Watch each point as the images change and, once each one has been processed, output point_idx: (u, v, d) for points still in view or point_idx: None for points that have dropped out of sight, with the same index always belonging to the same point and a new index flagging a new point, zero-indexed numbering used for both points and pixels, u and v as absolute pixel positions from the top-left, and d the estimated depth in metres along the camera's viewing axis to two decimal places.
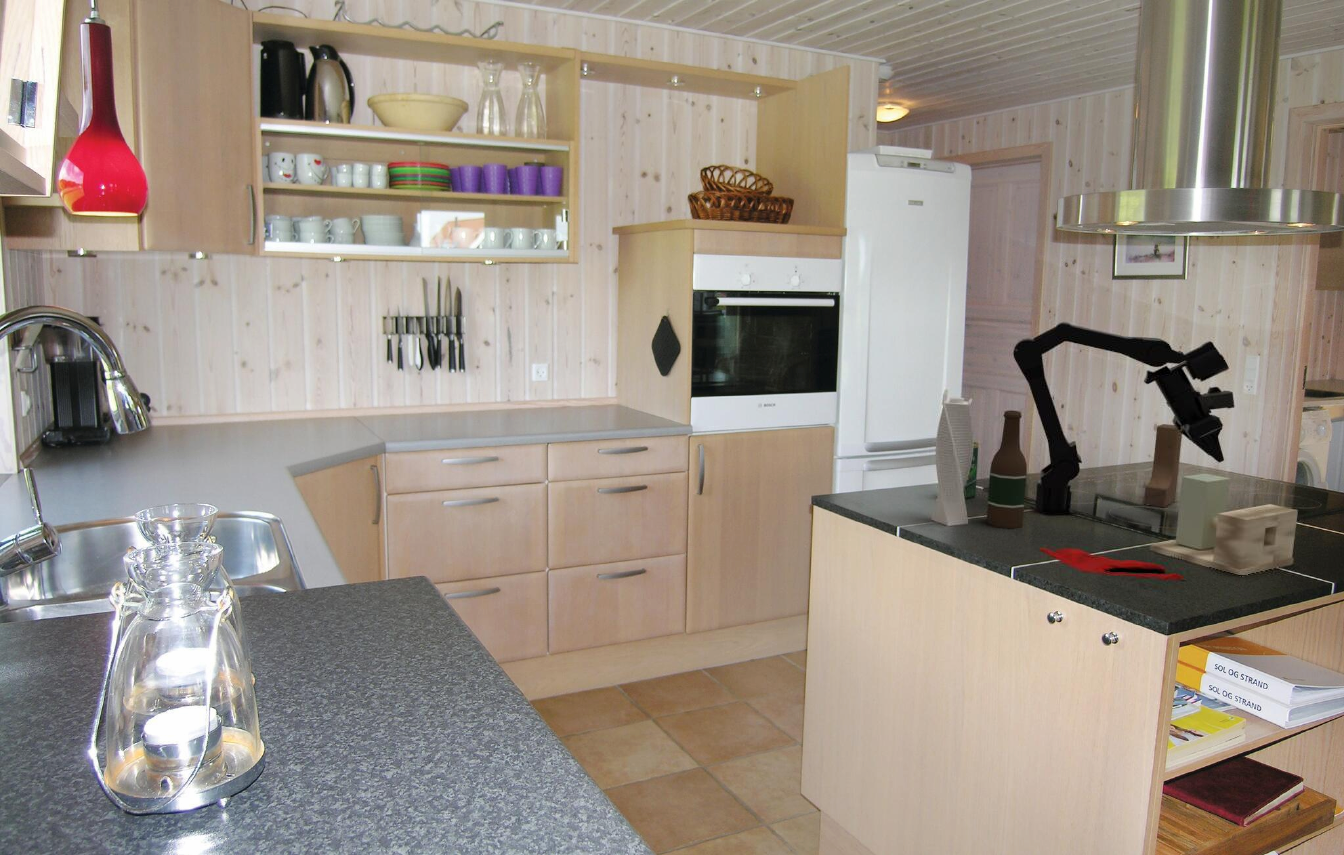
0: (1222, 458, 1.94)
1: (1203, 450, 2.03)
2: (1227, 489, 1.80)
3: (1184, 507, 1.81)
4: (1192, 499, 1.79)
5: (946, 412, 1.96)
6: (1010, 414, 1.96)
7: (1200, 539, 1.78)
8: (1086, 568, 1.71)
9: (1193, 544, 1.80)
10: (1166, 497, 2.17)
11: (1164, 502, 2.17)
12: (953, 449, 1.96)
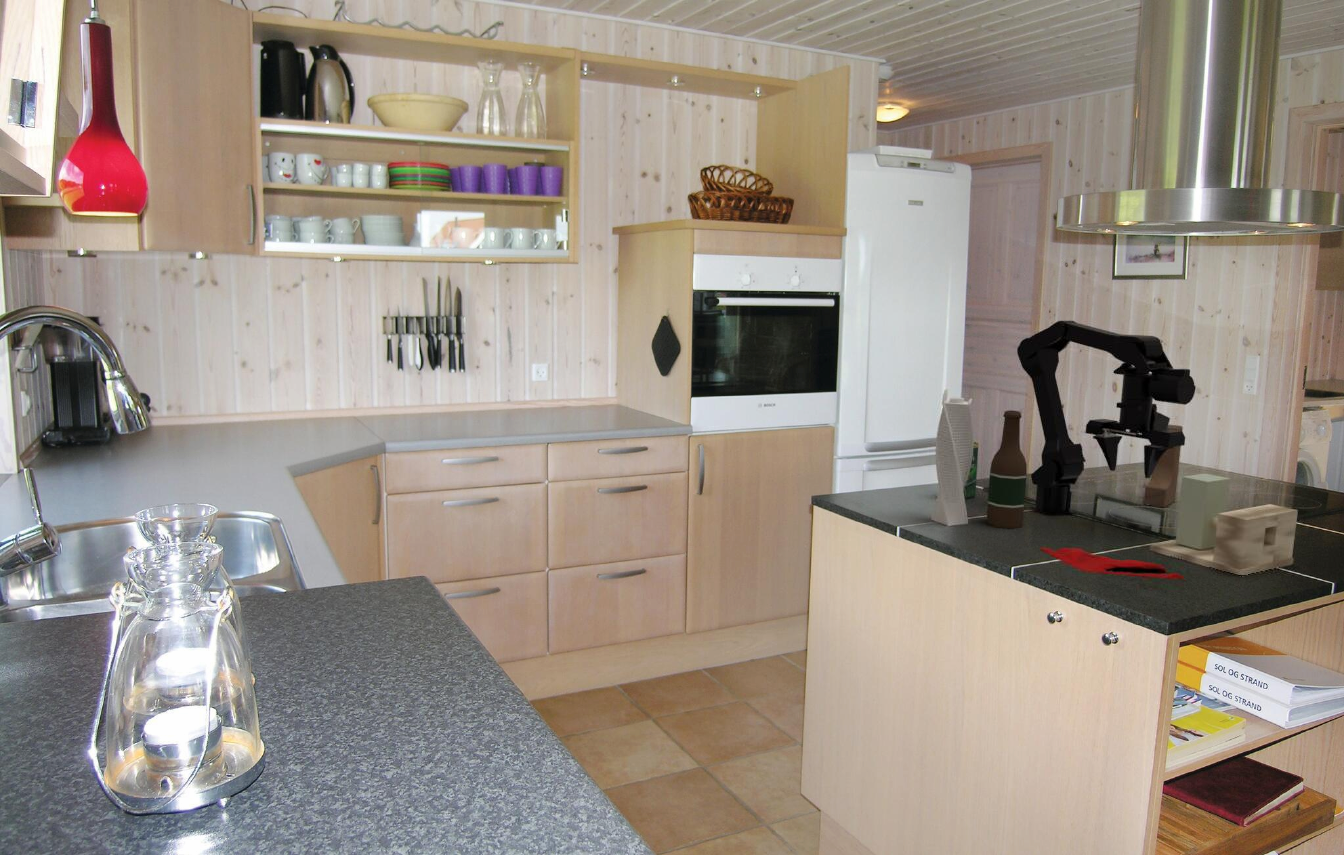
0: (1150, 475, 1.91)
1: (1110, 463, 1.97)
2: (1227, 489, 1.80)
3: (1184, 507, 1.81)
4: (1192, 499, 1.79)
5: (946, 412, 1.96)
6: (1010, 414, 1.96)
7: (1200, 539, 1.78)
8: (1087, 567, 1.71)
9: (1193, 544, 1.80)
10: (1166, 497, 2.17)
11: (1164, 502, 2.17)
12: (953, 449, 1.96)
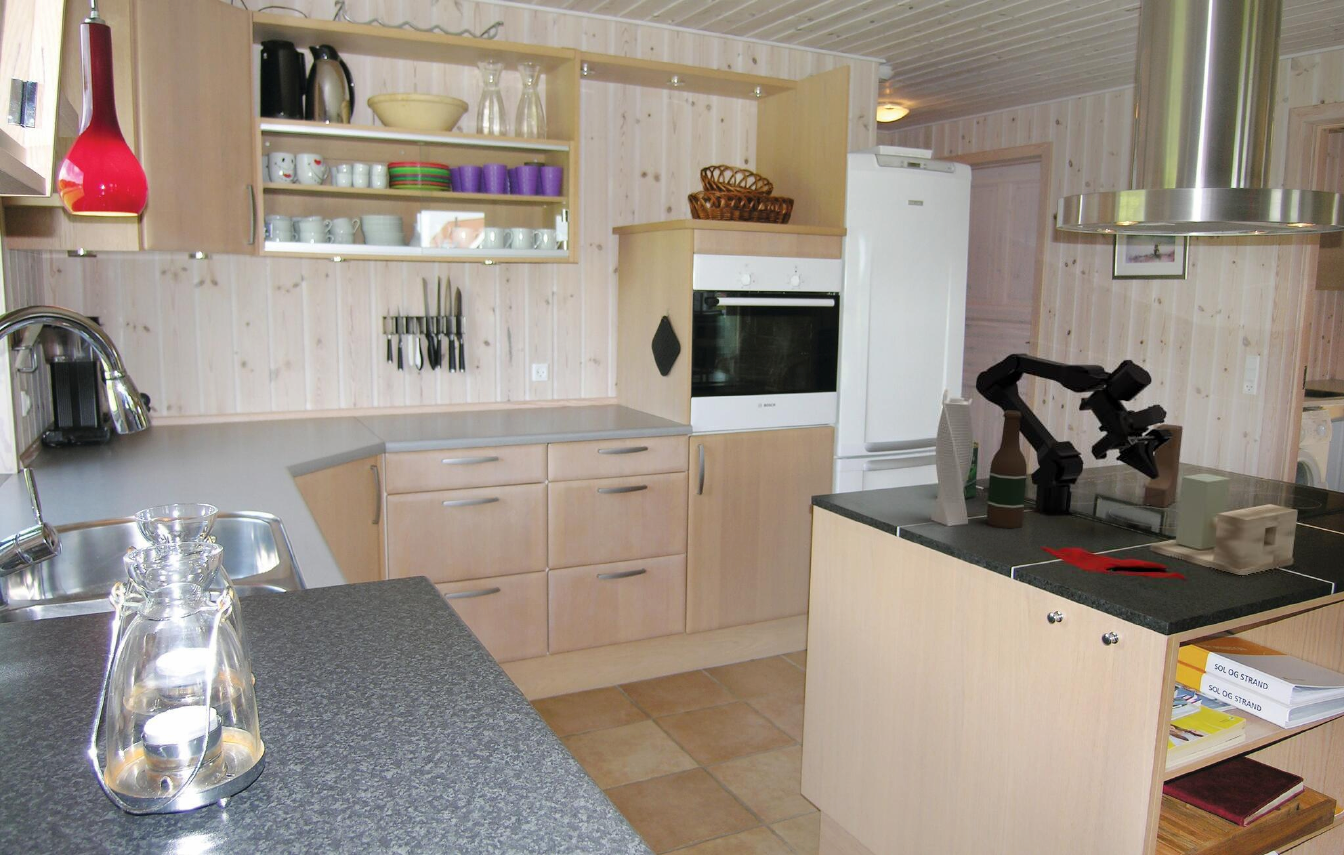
0: (1154, 474, 1.89)
1: None
2: (1227, 489, 1.80)
3: (1184, 507, 1.81)
4: (1192, 499, 1.79)
5: (946, 412, 1.96)
6: (1010, 414, 1.96)
7: (1200, 539, 1.78)
8: (1088, 567, 1.71)
9: (1193, 544, 1.80)
10: (1166, 497, 2.17)
11: (1164, 502, 2.17)
12: (953, 449, 1.96)
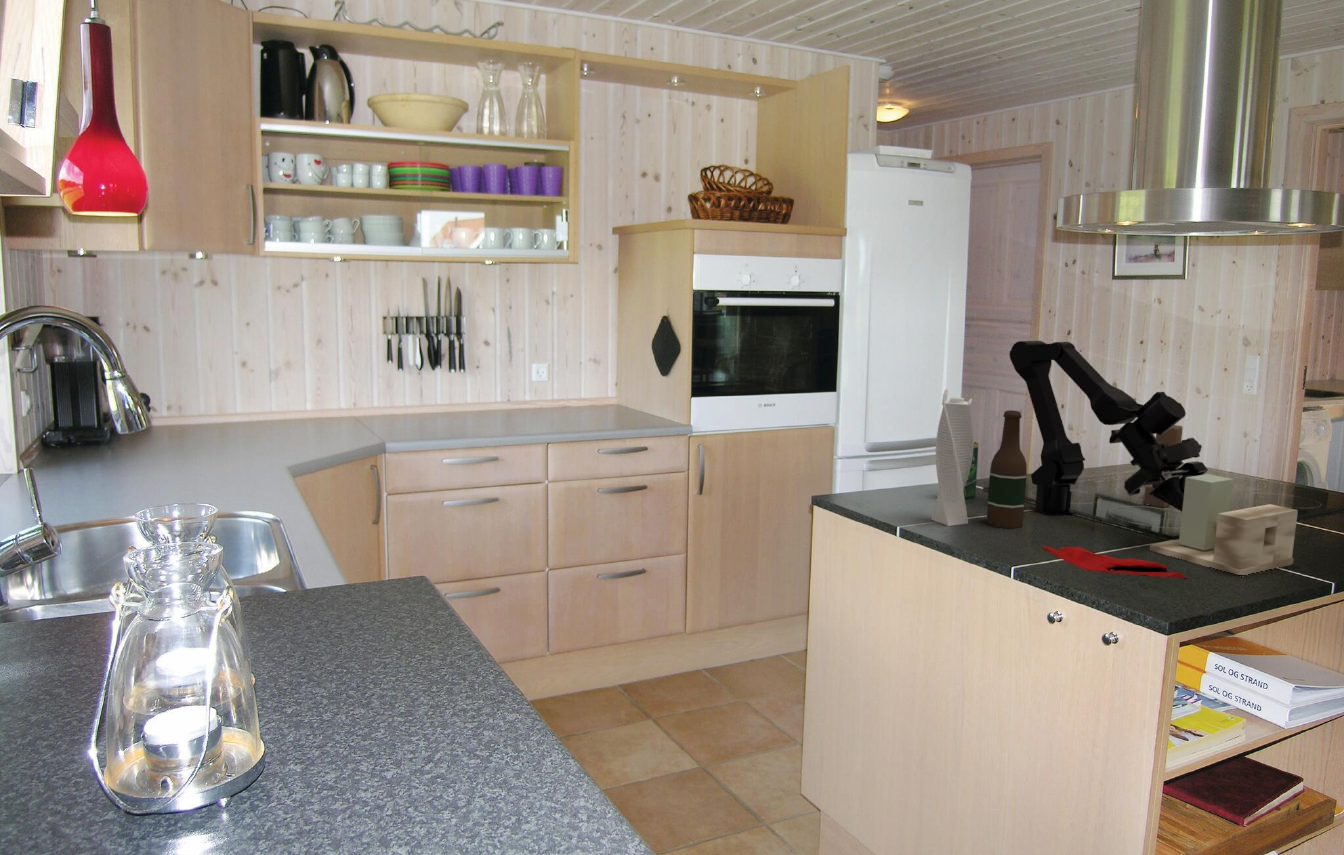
0: None
1: None
2: (1231, 490, 1.79)
3: (1187, 508, 1.80)
4: (1196, 500, 1.79)
5: (946, 412, 1.96)
6: (1010, 414, 1.96)
7: (1203, 540, 1.78)
8: (1088, 566, 1.72)
9: (1196, 545, 1.79)
10: None
11: (1164, 502, 2.17)
12: (953, 449, 1.96)
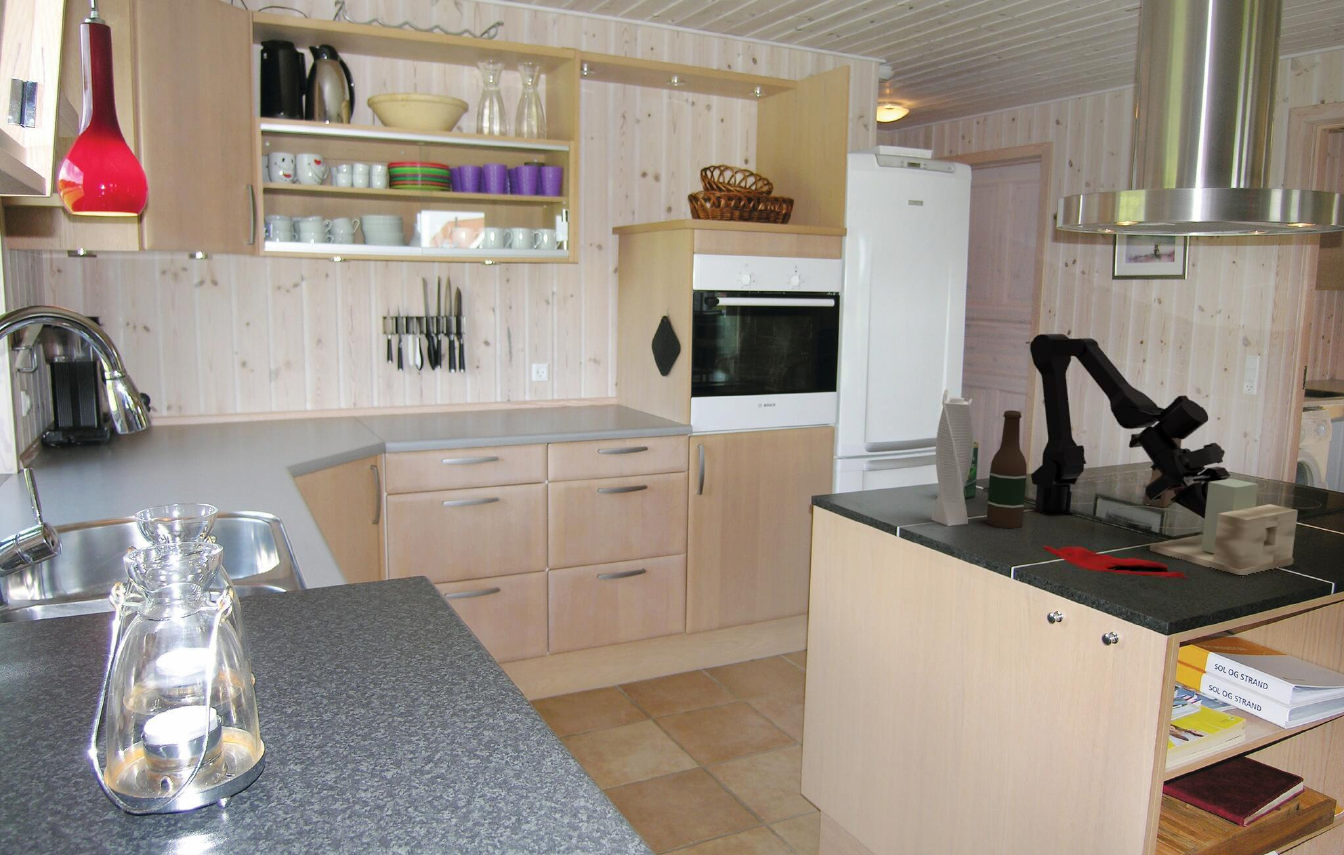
0: None
1: None
2: (1255, 495, 1.75)
3: (1210, 513, 1.76)
4: (1219, 505, 1.75)
5: (946, 412, 1.96)
6: (1010, 414, 1.96)
7: None
8: (1089, 566, 1.72)
9: None
10: (1166, 497, 2.17)
11: (1164, 502, 2.17)
12: (953, 449, 1.96)
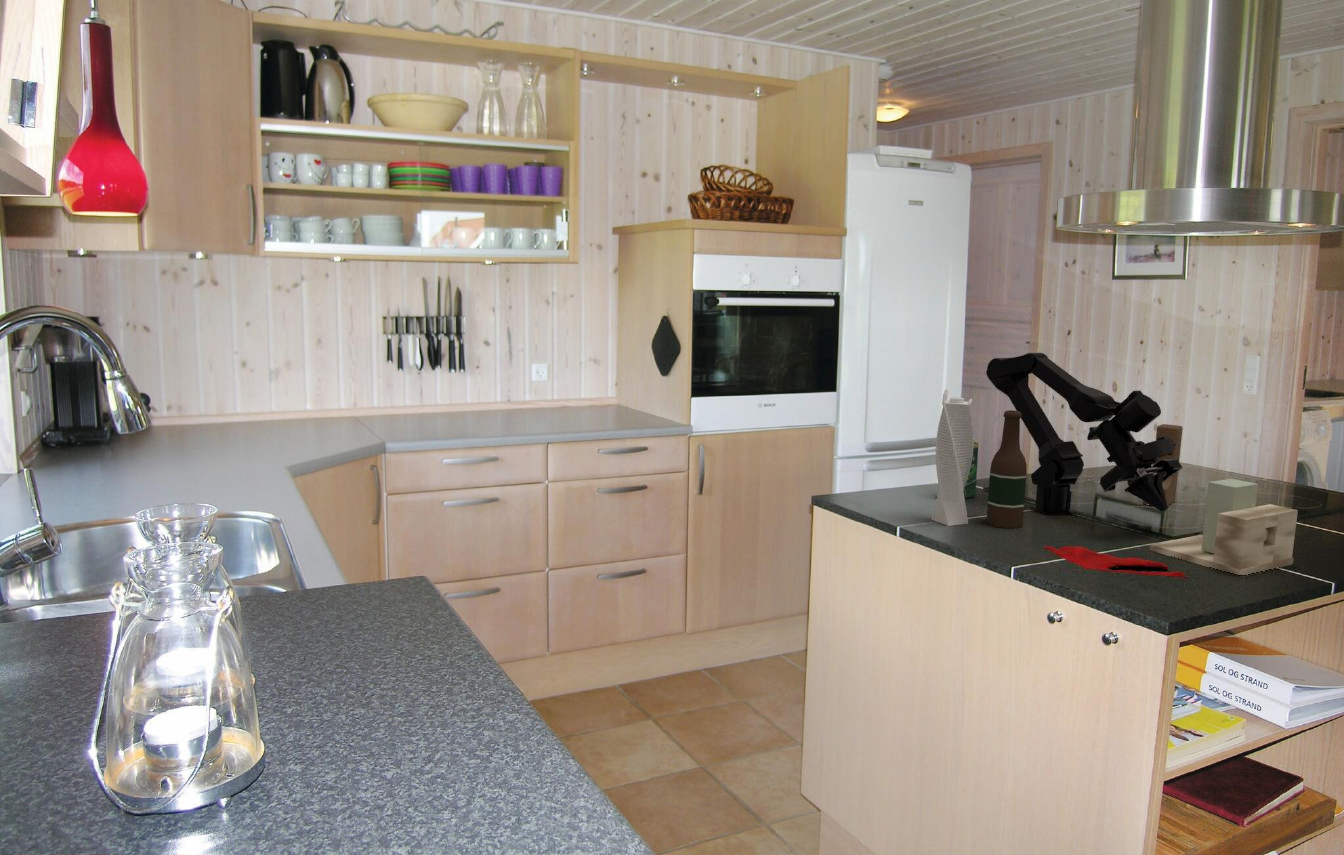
0: (1163, 507, 1.88)
1: None
2: (1255, 495, 1.75)
3: (1210, 513, 1.76)
4: (1219, 505, 1.75)
5: (946, 412, 1.96)
6: (1010, 414, 1.96)
7: None
8: (1089, 566, 1.72)
9: None
10: (1166, 497, 2.17)
11: None
12: (953, 449, 1.96)
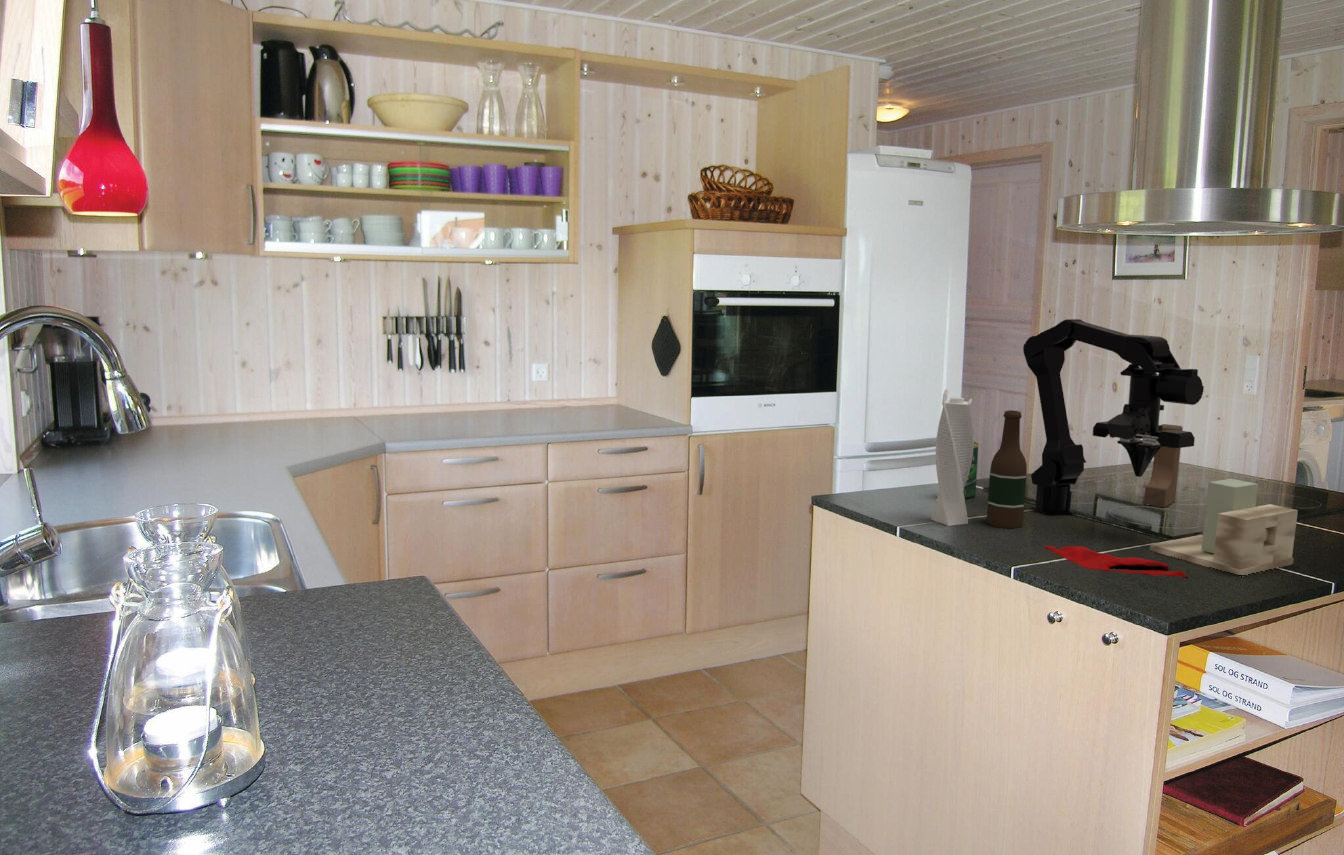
0: None
1: None
2: (1255, 495, 1.75)
3: (1210, 513, 1.76)
4: (1219, 505, 1.75)
5: (946, 412, 1.96)
6: (1010, 414, 1.96)
7: None
8: (1090, 565, 1.72)
9: None
10: (1166, 497, 2.17)
11: (1164, 502, 2.17)
12: (953, 449, 1.96)
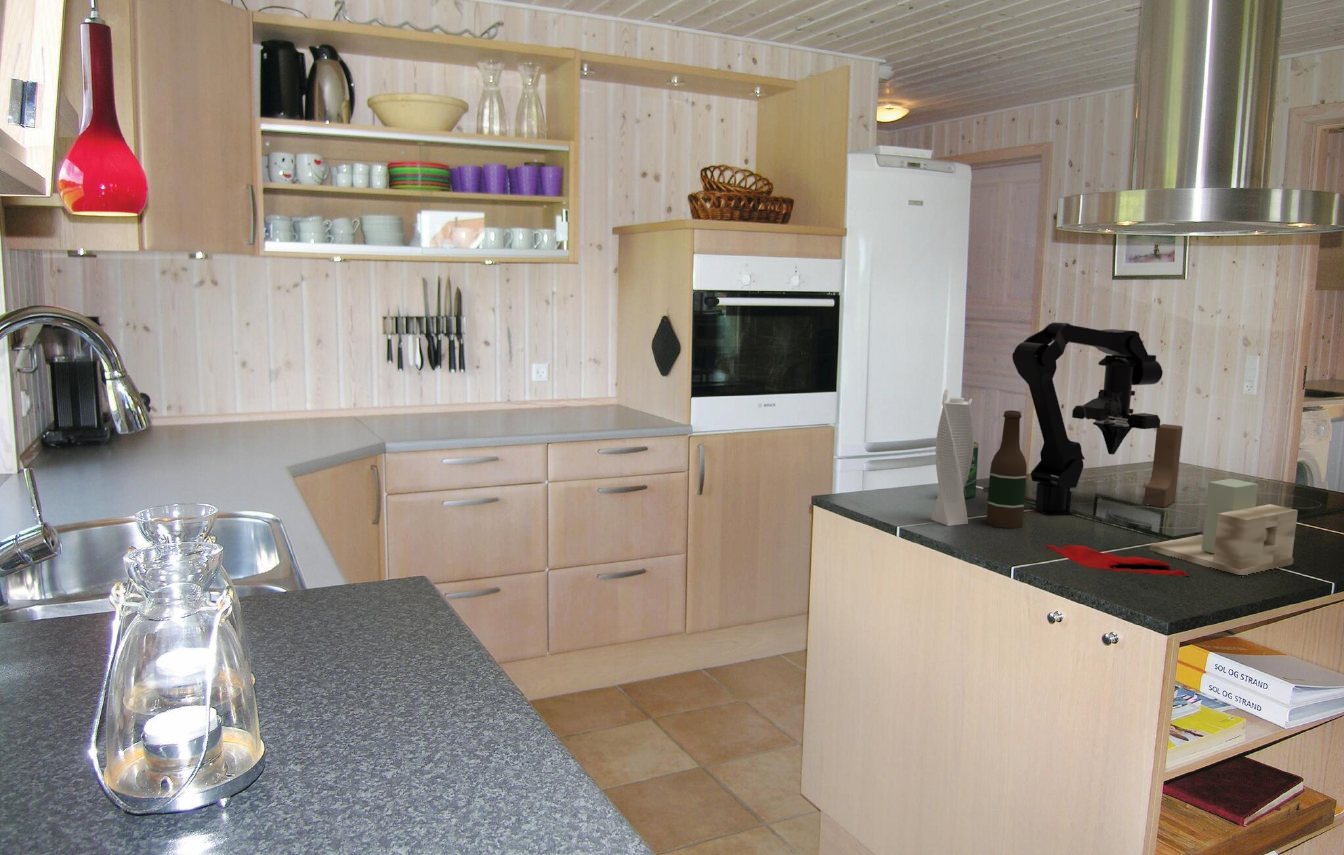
0: None
1: None
2: (1255, 495, 1.75)
3: (1210, 513, 1.76)
4: (1219, 505, 1.75)
5: (946, 412, 1.96)
6: (1010, 414, 1.96)
7: None
8: (1091, 564, 1.73)
9: None
10: (1166, 497, 2.17)
11: (1164, 502, 2.17)
12: (953, 449, 1.96)
